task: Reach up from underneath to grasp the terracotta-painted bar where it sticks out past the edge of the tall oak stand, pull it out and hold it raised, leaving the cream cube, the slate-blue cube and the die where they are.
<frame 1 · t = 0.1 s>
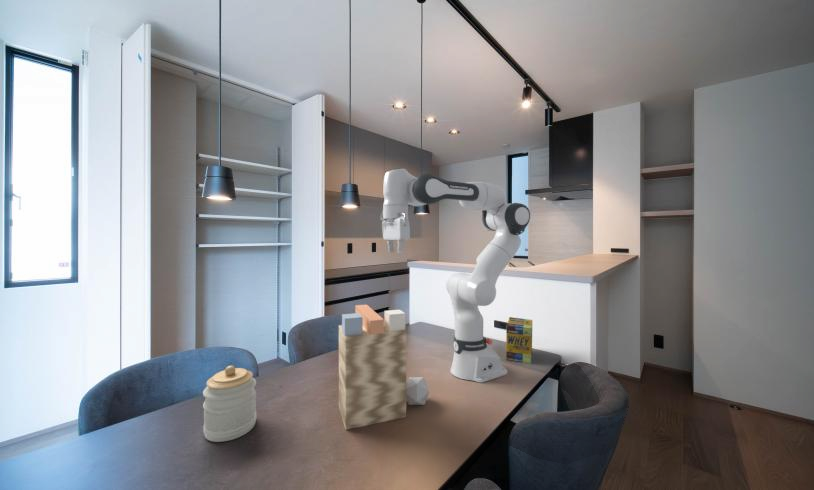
hand: (395, 253, 112), 48 cm above the table, tool pointing down, fingers open, 8 cm apart
die: (416, 403, 102), on the table
cube slate: (352, 332, 91), point 26 cm above the table, touching oak stand
jar: (230, 428, 88), on the table
oak stand: (371, 411, 97), on the table
protein box: (519, 356, 142), on the table
cube cream: (394, 328, 96), point 26 cm above the table, touching oak stand
bar terracotta: (368, 324, 100), point 26 cm above the table, touching oak stand
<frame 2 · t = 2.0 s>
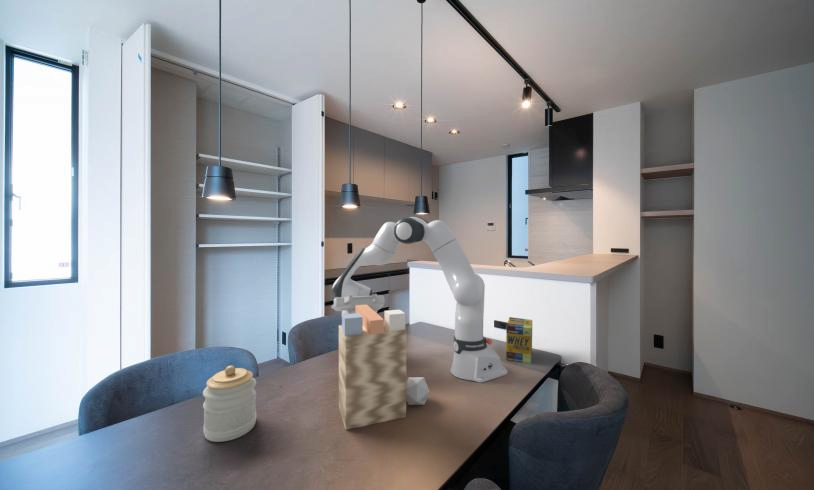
hand: (363, 296, 120), 31 cm above the table, tool pointing upward, fingers open, 8 cm apart
nothing on the table moved.
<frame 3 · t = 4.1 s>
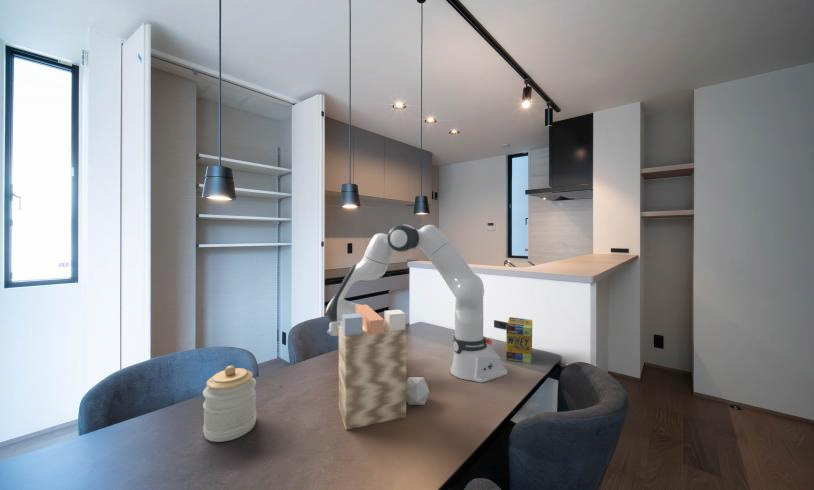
hand: (360, 320, 112), 24 cm above the table, tool pointing upward, fingers open, 8 cm apart
nothing on the table moved.
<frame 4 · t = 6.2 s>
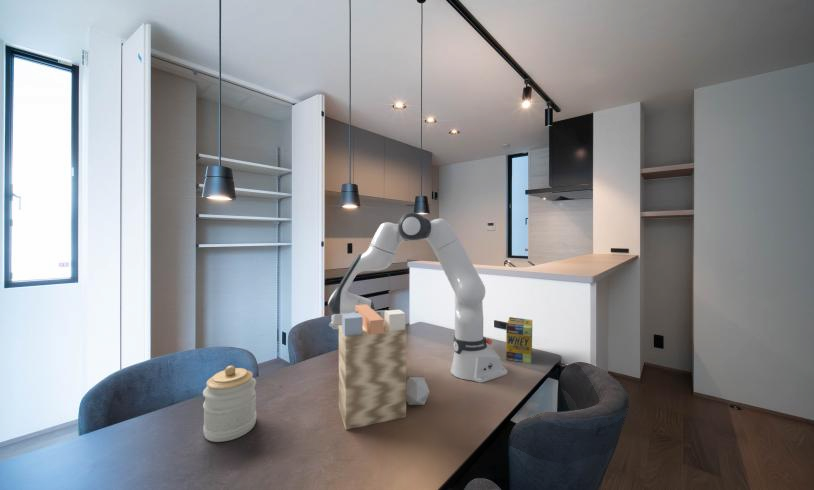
hand: (364, 312, 105), 28 cm above the table, tool pointing upward, fingers closed on bar terracotta, 4 cm apart
bar terracotta: (368, 324, 100), point 26 cm above the table, touching gripper, oak stand
everything else where it was.
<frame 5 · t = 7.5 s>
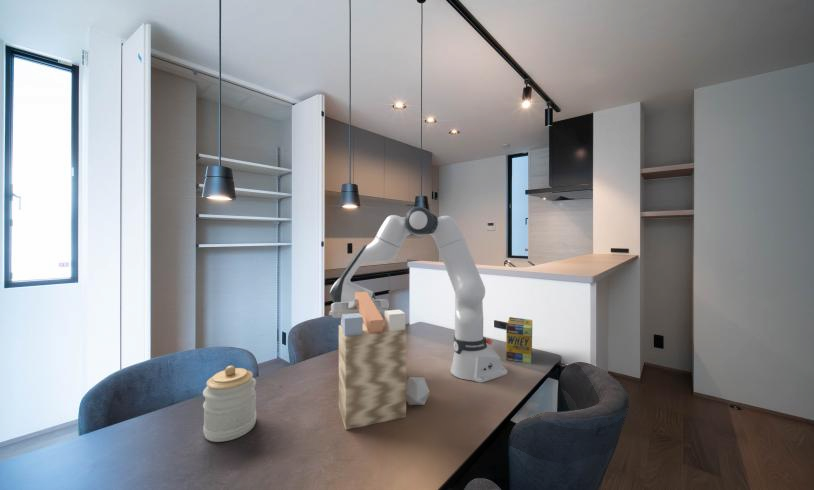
hand: (364, 300, 105), 32 cm above the table, tool pointing upward, fingers closed on bar terracotta, 4 cm apart
bar terracotta: (367, 316, 101), point 28 cm above the table, tilted 13°, touching gripper
everything else where it was.
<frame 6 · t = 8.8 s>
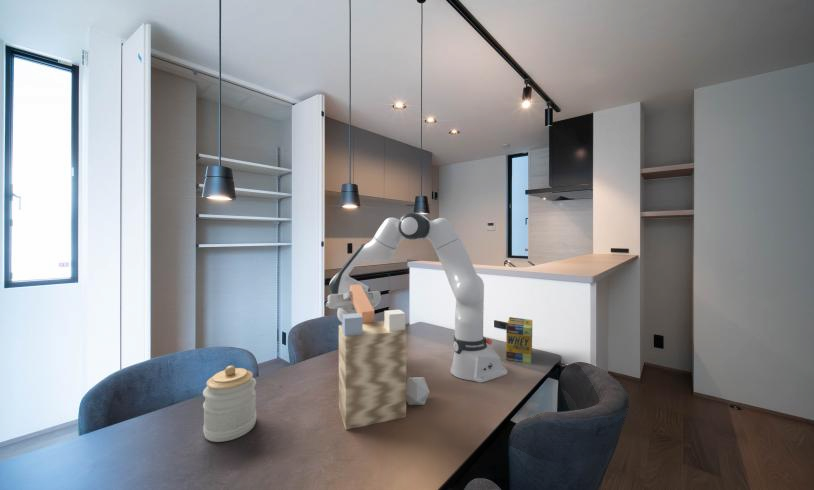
hand: (357, 292, 114), 33 cm above the table, tool pointing upward, fingers closed on bar terracotta, 4 cm apart
bar terracotta: (360, 307, 110), point 29 cm above the table, tilted 15°, touching gripper
everything else where it was.
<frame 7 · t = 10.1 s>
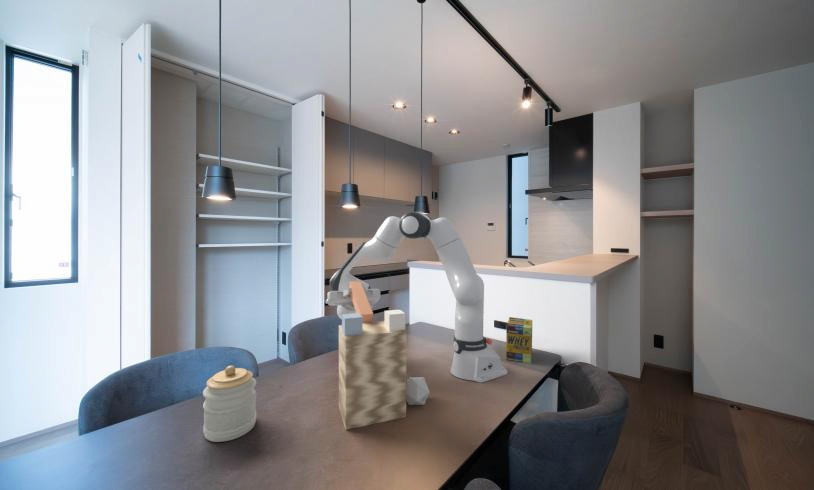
hand: (357, 289, 115), 34 cm above the table, tool pointing upward, fingers closed on bar terracotta, 4 cm apart
bar terracotta: (359, 306, 112), point 29 cm above the table, tilted 22°, touching gripper
everything else where it was.
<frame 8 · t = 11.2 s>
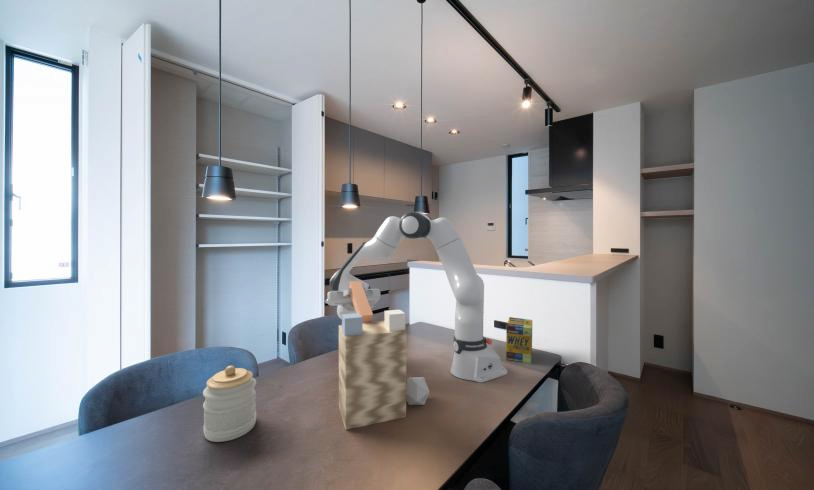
hand: (357, 289, 115), 34 cm above the table, tool pointing upward, fingers closed on bar terracotta, 4 cm apart
bar terracotta: (359, 306, 112), point 29 cm above the table, tilted 23°, touching gripper
everything else where it was.
at the end: the gripper is holding bar terracotta; bar terracotta inside the target area (3.5 cm from its centre), point 29.0 cm above the table; cube cream moved 0.0 cm from its start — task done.
